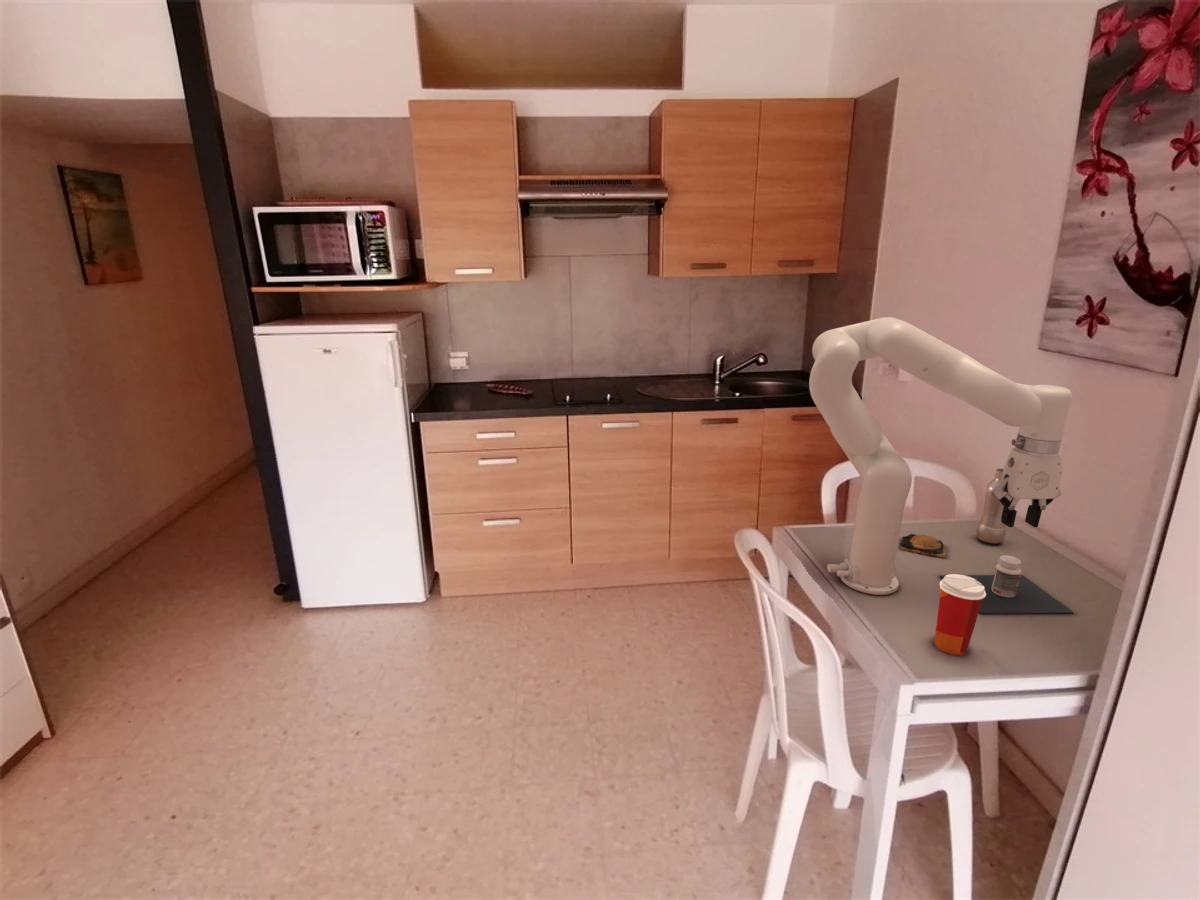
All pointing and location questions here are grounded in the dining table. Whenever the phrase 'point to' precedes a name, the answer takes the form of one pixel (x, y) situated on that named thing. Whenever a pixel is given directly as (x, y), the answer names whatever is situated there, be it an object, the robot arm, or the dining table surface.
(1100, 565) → the dining table surface
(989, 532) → the plastic bottle
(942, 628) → the paper cup
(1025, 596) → the mat
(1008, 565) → the pill bottle
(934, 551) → the bread roll
